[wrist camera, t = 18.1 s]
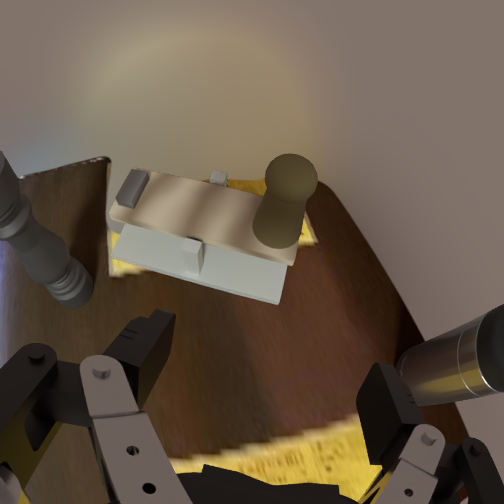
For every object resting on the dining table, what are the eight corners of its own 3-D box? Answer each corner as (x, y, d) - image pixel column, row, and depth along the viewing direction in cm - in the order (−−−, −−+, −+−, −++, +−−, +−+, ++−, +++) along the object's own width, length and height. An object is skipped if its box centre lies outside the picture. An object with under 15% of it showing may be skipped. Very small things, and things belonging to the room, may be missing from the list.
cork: (258, 202, 41) (269, 138, 31) (304, 213, 41) (327, 153, 31) (247, 242, 38) (256, 182, 28) (297, 254, 38) (322, 198, 28)
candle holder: (92, 264, 43) (14, 139, 20) (95, 304, 40) (-2, 195, 18) (56, 271, 41) (-36, 159, 19) (57, 311, 39) (-54, 214, 17)
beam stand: (295, 220, 50) (307, 190, 43) (277, 304, 43) (290, 284, 36) (149, 183, 50) (142, 151, 43) (113, 258, 43) (97, 231, 37)
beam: (300, 216, 43) (307, 199, 40) (290, 268, 40) (297, 254, 36) (136, 177, 44) (131, 159, 41) (112, 222, 40) (104, 206, 37)
